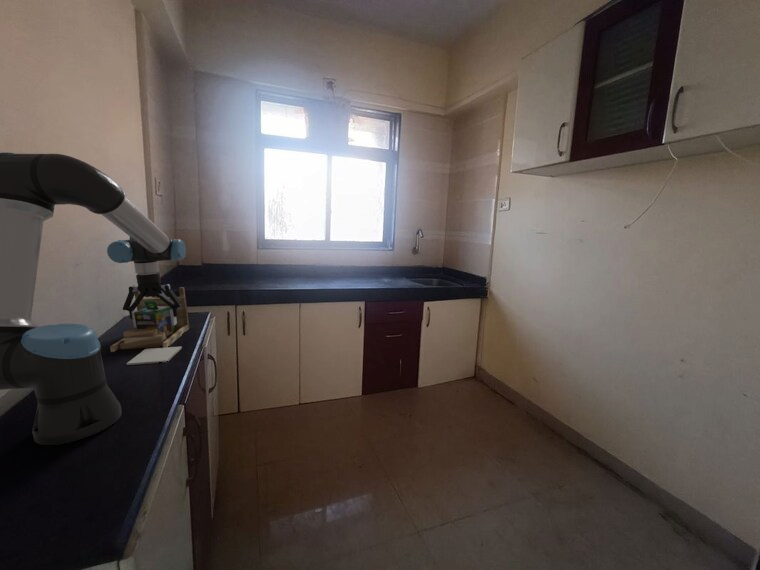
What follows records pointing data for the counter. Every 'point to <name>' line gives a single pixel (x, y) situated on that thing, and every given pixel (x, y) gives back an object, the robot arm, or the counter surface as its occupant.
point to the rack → (181, 318)
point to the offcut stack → (142, 338)
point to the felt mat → (154, 355)
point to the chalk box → (155, 318)
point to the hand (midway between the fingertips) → (156, 325)
